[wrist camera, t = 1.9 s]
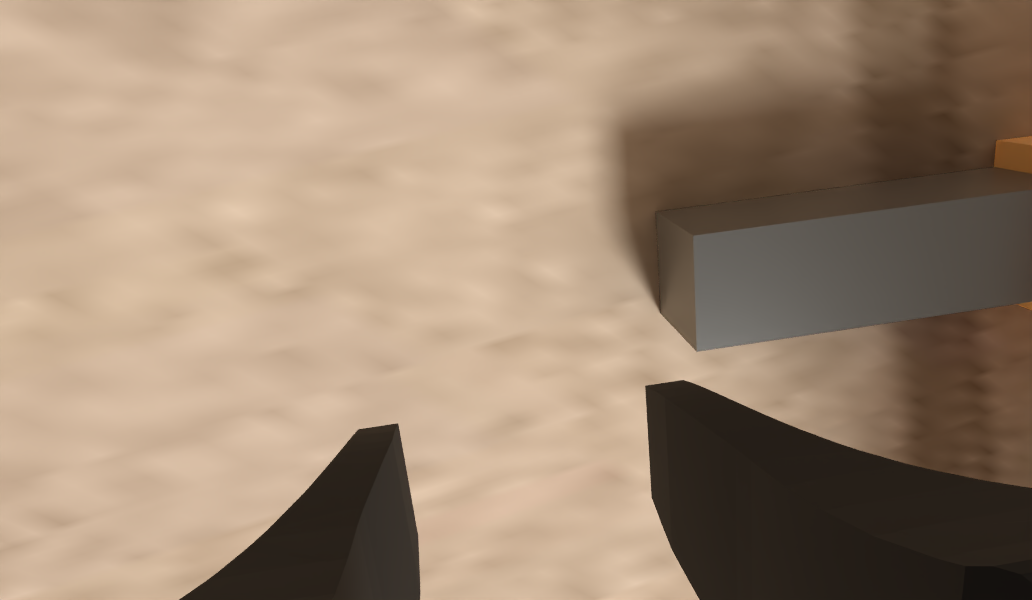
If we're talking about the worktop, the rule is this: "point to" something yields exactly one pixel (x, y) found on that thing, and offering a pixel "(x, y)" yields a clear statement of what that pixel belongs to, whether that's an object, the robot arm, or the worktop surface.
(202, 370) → the worktop surface
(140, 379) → the worktop surface
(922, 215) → the plug
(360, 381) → the worktop surface
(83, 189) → the worktop surface
